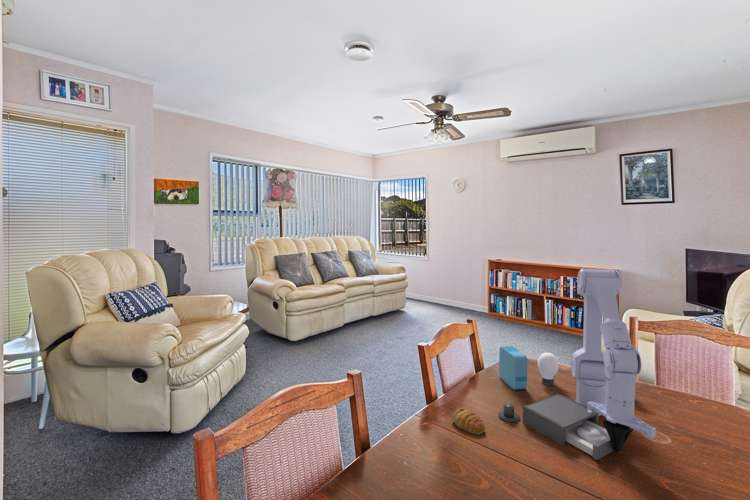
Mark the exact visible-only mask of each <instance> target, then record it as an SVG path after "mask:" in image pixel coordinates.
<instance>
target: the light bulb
mask: <svg viewBox="0 0 750 500" xmlns="http://www.w3.org/2000/svg"><path fill="white" fill-rule="evenodd" d="M537 367H538V368H537V369H538V370H539V371H538V372H539V373H540V374H541V383H542V384H544V385H545V386H553V385H555V377H554V376H555V375H557V373H558V370H559V360H558V359H557V357H556V356H555V355H554V354H553V353H551V352H543V353H542V354H540V355H539V357H538V358H537Z"/></svg>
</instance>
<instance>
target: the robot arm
mask: <svg viewBox="0 0 750 500" xmlns="http://www.w3.org/2000/svg"><path fill="white" fill-rule="evenodd" d="M576 277H577V278H576V280H577V281H576V283H577V285H576V291H577V294H578V295H580V296H582V297H583V331H582V332H583V334H582V336H583V337H582V338H583V340H582V348H579V349H578V350H575V351H574V352H573V353H572V357H571V365H570V368H571V370H570V371H571V375H572V377H573V378H574V379H575V380H576V399H575V401H576V402H578V403H580V404H582V405H585V406H587V410H589V411H594V412H596V413H599V417H601V416H604V417H605V419H604V420H603V421H602V425H603V428H605V429H606V430H607V432H608V435H609V437H610V441H611V444H612V449H613V451H612V452H614V453H615V452H616V453H617V454H620V453H622V452H623V450H624V447H625V445H626V444H625V442H626V443H627V440H628V438H629V436H630V435H631V434H632V433H633V432H634V431H636V432H639V433H641V434H643V435H645V436H646V438H648V439H653V438H655V437H656V435H657V428H656V427H654V426H652V425H650V424H648V423H646V422H645V421H643V420H642V419H640V418H638V417H637V416H635V399H636V380H637V379H636V378H637V377H636V376H637V375H639V374H640V373H641V371H642V359H641V354H640V352H639V351H638V349H637V347H636V345H633V344H632V340H631V337H630V334H629V329H628V326H627V324H626V323H625V322H624V321H622V320H621V319H620V313H619V312H620V311H619V306H618V305H619V304H618V300H617V299H618V298H617V296H618V294H619V292H620V289H621V286H622V276H621V273H620V272H619V271H618V269H616V268H615V269H591V268H590V269H588V268H587V269H586V268H581V269H580V270H578V273H577V276H576ZM602 340H603V344H604V345H603V346H604V351H602Z"/></svg>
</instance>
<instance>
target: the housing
mask: <svg viewBox="0 0 750 500" xmlns="http://www.w3.org/2000/svg"><path fill="white" fill-rule="evenodd" d="M599 417H600V416H599V413H596V412H594V411H589V410H587V406H585V405H582V404H580V403H578V402H576V400H573V399H571V398H569V397H568V396H564V395H563V394H560V393H556V394H553V395H550V396H548V397H544V398H542V399H539V400H537V401H534V402H531V403H529V404H526V405H524V406H522V424H525V425H526V426H528V427H529V428H531V429H533V430H535V431H536V432H538V433H540V434H542V435H544V436H545V437H546V438H548V439H550V440H552V441H554V442H556V443H557V444H559V445H561V446H564V445H566V443H565V442H566V441H565V429H566V428H568V427H570V426H573V425H575V424H577V423H579V422H582V421H584V420H588V421H590V422H592V423H595V424H597V425H599Z"/></svg>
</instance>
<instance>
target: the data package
mask: <svg viewBox="0 0 750 500" xmlns="http://www.w3.org/2000/svg"><path fill="white" fill-rule="evenodd" d="M498 357H499V360H498V361H499V362H498V363H499V364H498V365H499V367H498V369H499V370H498V372H499V373H498V374H499V377H500V379H501V380H502V381H503V382H504V383H505V384H506V385H508V387H510V388H511V390H517V391H518V390H526V389H527V387H528V363H529V362H528V357H527V355H526V354H524V353H523V352H522V351H520V350H519V349H518V348H516V347H514V346H513V345H505V346H500V347H499V356H498Z"/></svg>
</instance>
